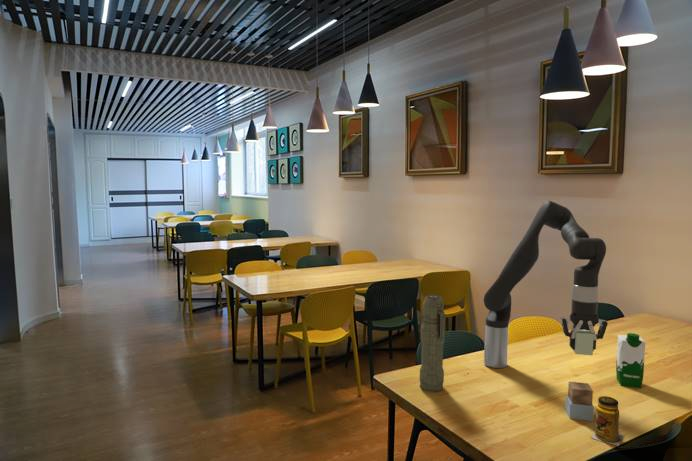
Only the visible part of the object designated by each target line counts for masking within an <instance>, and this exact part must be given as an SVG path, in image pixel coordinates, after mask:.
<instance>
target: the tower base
mask: <svg viewBox="0 0 692 461" xmlns="http://www.w3.org/2000/svg"><path fill="white" fill-rule="evenodd" d="M564 402H565V404H564V405H565V407H564V410H565V411H566V413H567V416H568V418H569V419H572V420H580V421H589V422H594V414H595V413H594V412H595V411H594V408H595V406H594V405H593V403H592V406H590V405H581V404H572V403H571V401H570V399H569V397H568V394H565V401H564Z"/></svg>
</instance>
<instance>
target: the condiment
mask: <svg viewBox="0 0 692 461" xmlns="http://www.w3.org/2000/svg"><path fill="white" fill-rule="evenodd" d="M595 411H596V412H595V413H596V414H595V428H594V431H593V434H592V435H591V437H590V438H591V439H594V440H596V441H600V442H602V443H606V444H610V445H613V446H617V447H619V446H620V444H621V442H622V439H623V437H624V436H625V435H624V434H623V433H619V426H620V410H619V401H618V400H617V399H615V398H613V397H611V396H606V395H605V396H602V395H601V396H599V397H598V399H597V405H596V407H595Z"/></svg>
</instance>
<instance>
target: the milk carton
mask: <svg viewBox="0 0 692 461" xmlns="http://www.w3.org/2000/svg"><path fill="white" fill-rule="evenodd" d="M616 346H617V348H616V362H615V363H616V366H615V371H616V372H615V373H616V380H617V382H618V383H619V385H620V386H621V387H629V388H636V389H642V388H643V381H644V374H645V373H644V372H645V355H646V354H645V352H646V341H645V340H644V339H643V338H642V337H641V336H640V334H636V333H632V332H631V333H630V332H629V333H627V334H625V335H624V334H618V335H617V344H616Z"/></svg>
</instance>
